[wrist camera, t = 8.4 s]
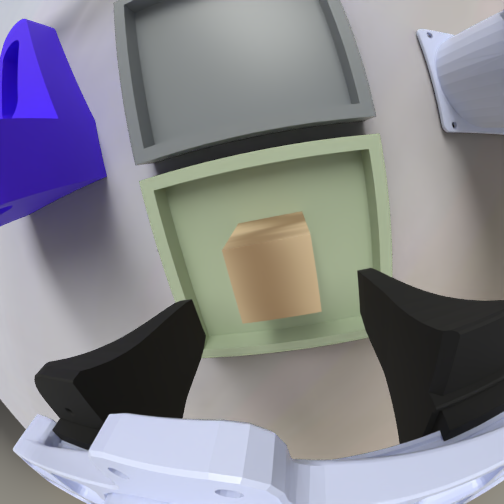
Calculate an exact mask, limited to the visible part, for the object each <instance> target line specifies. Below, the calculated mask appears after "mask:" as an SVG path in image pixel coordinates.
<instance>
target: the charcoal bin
mask: <svg viewBox="0 0 504 504" xmlns="http://www.w3.org/2000/svg"><path fill="white" fill-rule="evenodd" d="M114 22H115V37H116V49H117V59H118V68H119V76H120V83H121V90H122V97H123V104H124V110H125V116H126V121H127V127H128V132H129V137H130V142H131V147H132V152H133V157H134V161H135V165H142V164H150V163H155V162H158V161H162V160H165V159H168V158H171V157H175V156H178V155H181V154H185V153H189V152H192V151H196V150H200V149H203V148H207V147H211V146H215V145H219V144H223V143H227V142H232V141H236V140H241V139H245V138H250V137H255V136H260V135H265V134H270V133H276V132H281V131H287V130H293V129H300V128H306V127H313V126H321V125H329V124H337V123H347V122H358V121H365V120H367V119H370V118H373V117H376V113H375V109H374V104H373V100H372V96H371V92H370V88H369V84H368V80H367V77H366V73H365V70H364V66H363V63H362V59H361V56H360V53H359V50H358V47H357V44H356V41H355V38H354V35H353V32H352V30H351V27H350V24H349V22H348V19H347V16H346V14H345V11H344V9H343V6H342V4H341V2H340V0H118V1H116V2H114Z"/></svg>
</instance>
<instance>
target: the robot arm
mask: <svg viewBox="0 0 504 504" xmlns="http://www.w3.org/2000/svg"><path fill="white" fill-rule="evenodd" d="M427 34H428V35H429V36H430V38H429V37H428V36H427ZM417 37H418V39H419V42H420V45H421V48H422V51H423V54H424V57H425V60H426V63H427V66H428V69H429V73H430V76H431V80H432V84H433V87H434V91H435V95H436V100H437V104H438V109H439V114H440V119H441V124H442V128H443V129H444V131H446V132H460V133H486V134H501V135H504V10H503V11H501V12H499V13H497V14H495V15H493V16H491V17H489V18H487V19H485V20H483V21H481V22H479V23H477V24H475V25H473V26H471V27H469V28H468V29H466V30H464V31H462V32H460V33H459V34H457V35H452V34H447V33H442V32H437V31H432V30H426V29H419V30H418V31H417ZM452 122H453V124H454V128H453V127H452ZM357 275H358V288H359V303H360V314H361V317H362V320H363V324H364V327H365V330H366V333H367V335H368V337H369V339H370V341H371V344H372V346H373V348H374V350H375V353H376V355H377V357H378V359H379V362H380V364H381V366H382V369H383V371H384V374H385V377H386V381H387V384H388V388H389V392H390V396H391V400H392V404H393V408H394V413H395V418H396V423H397V429H398V435H399V442H400V444H399V445H396V446H392V447H389V448H385V449H381V450H377V451H373V452H369V453H364V454H360V455H355V456H350V457H345V458H339V459H333V460H302V459H292V458H291V456H290V454H289V451H288V448H287V445H286V444H285V443H284V442H283V441H282V440H281V439H280V438H279V437H278V436H277V435H276V434H275V433H274V432H272V431H270V430H267V429H264V428H262V427H259V426H256V425H254V424H251V423H247V422H238V421H229V420H204V419H182V418H183V413H184V408H185V404H186V399H187V396H188V393H189V390H190V387H191V384H192V382H193V379H194V376H195V374H196V371H197V368H198V366H199V363H200V360H201V357H202V354H203V350H204V345H205V339H206V334H205V332H204V329H203V327H202V324H201V322H200V319H199V316H198V314H197V311H196V308H195V306H194V303H193V300H192V299H189V300H182V301H178V302H176V303H174V304H173V305H171V306H170V307H168V308H167V309H165V310H164V311H162V312H161V313H159V314H158V315H156V316H155V317H153V318H152V319H151V320H149V321H148V322H146V323H145V324H143V325H141V326H140V327H138V328H137V329H135V330H134V331H132V332H130V333H129V334H127V335H125V336H124V337H122V338H120V339H118V340H116V341H114V342H112V343H110V344H108V345H105V346H103V347H100V348H98V349H96V350H93V351H91V352H88V353H85V354H81V355H78V356H75V357H71V358H67V359H62V360H57V361H51V362H48V363H46V364H45V365H44V366H43V367H42V368H41V370H40V371H39V372H38V373H37V374H36V375H35V379H34V380H35V384H36V387H37V389H38V391H39V392H40V394H41V395H42V397H43V398H44V399H45V401H46V402H47V403H48V404H49V406H50V407H51V408H52V409H53V411H54V412H55V413H56V414H57V415H58V416H59V418H60V419H59V421H58V422H57V423H56V422H55V421H54V420H52V419H50V418H48V417H45V416H43V415H40V414H37V415H36V417H35V418H34V419H33V421H32V422H31V424H30V425H29V426H28V428H27V429H26V430H25V432H24V433H23V435H22V436H21V438H20V439H19V440H18V442H17V443H16V445H15V446H14V448H13V451H14V452H15V453H16V454H17V455H18V456H19V457H20V458H21V459H23V460H24V461H25V462H26V463H27V464H28V465H29V466H30V467H32V468H33V469H34V470H35V471H36V472H38V473H39V474H40V475H41V476H42V477H44V478H45V479H46V480H47V481H49V482H50V483H51V484H53V485H55V486H57V487H58V488H60V489H62V490H63V491H65V492H67V493H69V494H70V495H72V496H74V497H76V498H77V499H79V500H81V501H83V502H85V503H87V504H466V503H467V502H469V501H471V500H473V499H474V498H476V497H478V496H480V495H481V494H483V493H485V492H486V491H488V490H489V489H491V488H493V487H494V486H496V485H497V484H499V483H500V482H502V481H503V480H504V300H497V301H476V300H464V299H456V298H451V297H445V296H441V295H437V294H433V293H430V292H426V291H423V290H420V289H417V288H415V287H412V286H410V285H407V284H405V283H403V282H401V281H398V280H396V279H394V278H392V277H390V276H388V275H386V274H384V273H382V272H380V271H378V270H376V269H373V268H367V269H362V270H357Z"/></svg>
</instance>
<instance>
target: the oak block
mask: <svg viewBox="0 0 504 504" xmlns="http://www.w3.org/2000/svg"><path fill="white" fill-rule="evenodd" d="M222 253H223V256H224V260H225V264H226V267H227V271H228V274H229V278H230V282H231V285H232V289H233V292H234V296H235V299H236V303H237V306H238V309H239V313H240V316H241V320H242V323H243V324H245V323H252V322H260V321H267V320H274V319H281V318H287V317H294V316H300V315H306V314H312V313H317V312H322V310H321V302H320V294H319V287H318V280H317V273H316V266H315V260H314V253H313V247H312V241H311V235H310V232H309V229H308V226H307V223H306V221H305V218H304V215H303V213H302V211H300V212H295V213H290V214H284V215H279V216H274V217H269V218H264V219H258V220H253V221H248V222H243V223H238V225H237V226H236V228H235V229H234V231H233V233H232V234H231V236H230V238H229V239H228V241H227V243H226V244H225V246H224V248H223V249H222Z"/></svg>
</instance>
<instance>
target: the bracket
mask: <svg viewBox="0 0 504 504" xmlns="http://www.w3.org/2000/svg"><path fill="white" fill-rule="evenodd" d="M105 177H107V175H106V171H105V167H104V162H103V158H102V153H101V149H100V144H99V139H98V134H97V129H96V123H95V120H94V118H93V116H92V114H91V112H90V110H89V108H88V105H87V103H86V101H85V99H84V97H83V95H82V93H81V90H80V88H79V86H78V84H77V82H76V79H75V77H74V75H73V73H72V70H71V68H70V66H69V63H68V61H67V58H66V56H65V54H64V51H63V49H62V46H61V44H60V41H59V38H58V36H57V33H56V30H55V29H54V28H51V27H48V26H45V25H42V24H39V23H36V22H33V21H30V20H27V19H22V20H20V21H18V22H17V23H16V24H15V25H14V26H13V28H12V29H11V30H10V32H9V34H8V35H7V37H6V40H5V42H4V45H3V49H2V52H1V56H0V226H2V225H4V224H7V223H9V222H12V221H14V220H17V219H19V218H22V217H24V216H27V215H30V214H31V213H33V212H35V211H37V210H39V209H40V208H42V207H44V206H46V205H48V204H50V203H52V202H54V201H56V200H58V199H60V198H61V197H63V196H66V195H68V194H70V193H72V192H74V191H76V190H78V189H80V188H82V187H84V186H87V185H89V184H91V183H93V182H95V181H98V180H100V179H102V178H105Z"/></svg>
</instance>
